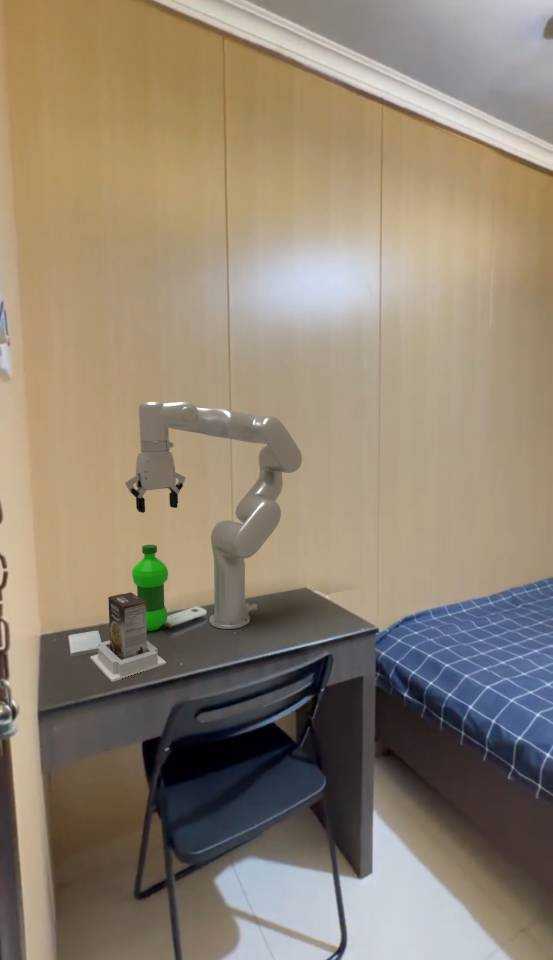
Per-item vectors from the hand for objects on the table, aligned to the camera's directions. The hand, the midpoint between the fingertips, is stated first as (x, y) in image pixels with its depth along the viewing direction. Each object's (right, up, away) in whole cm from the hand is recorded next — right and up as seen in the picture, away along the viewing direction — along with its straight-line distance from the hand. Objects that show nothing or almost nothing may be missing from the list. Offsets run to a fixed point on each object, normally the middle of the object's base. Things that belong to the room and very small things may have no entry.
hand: (157, 509), depth 134 cm
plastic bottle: (-5, -37, +12) cm, 39 cm away
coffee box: (-6, -38, -9) cm, 40 cm away
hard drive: (-20, -38, +1) cm, 43 cm away
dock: (-6, -39, -9) cm, 40 cm away
